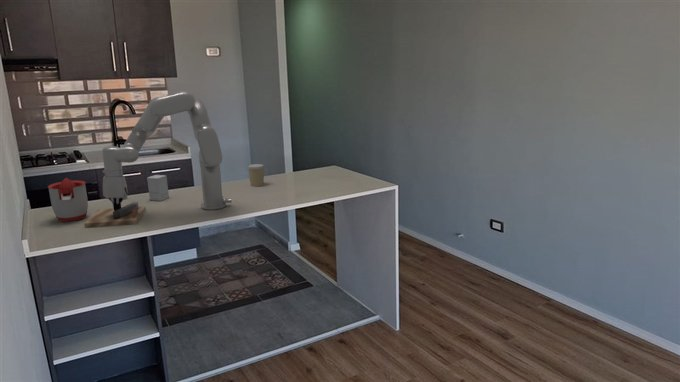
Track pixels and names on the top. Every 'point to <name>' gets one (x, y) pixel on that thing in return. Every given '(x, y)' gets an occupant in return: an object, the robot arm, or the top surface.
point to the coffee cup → (256, 175)
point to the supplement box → (158, 187)
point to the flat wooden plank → (106, 218)
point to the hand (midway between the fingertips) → (117, 211)
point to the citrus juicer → (69, 200)
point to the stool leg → (125, 210)
